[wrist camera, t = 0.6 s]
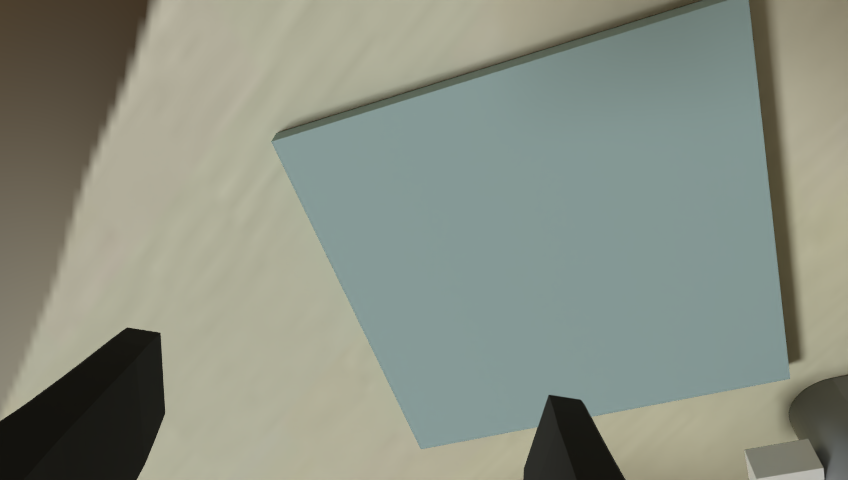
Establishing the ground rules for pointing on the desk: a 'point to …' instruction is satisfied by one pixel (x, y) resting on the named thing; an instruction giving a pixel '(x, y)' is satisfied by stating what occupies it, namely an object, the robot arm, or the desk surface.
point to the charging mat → (558, 227)
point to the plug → (809, 438)
